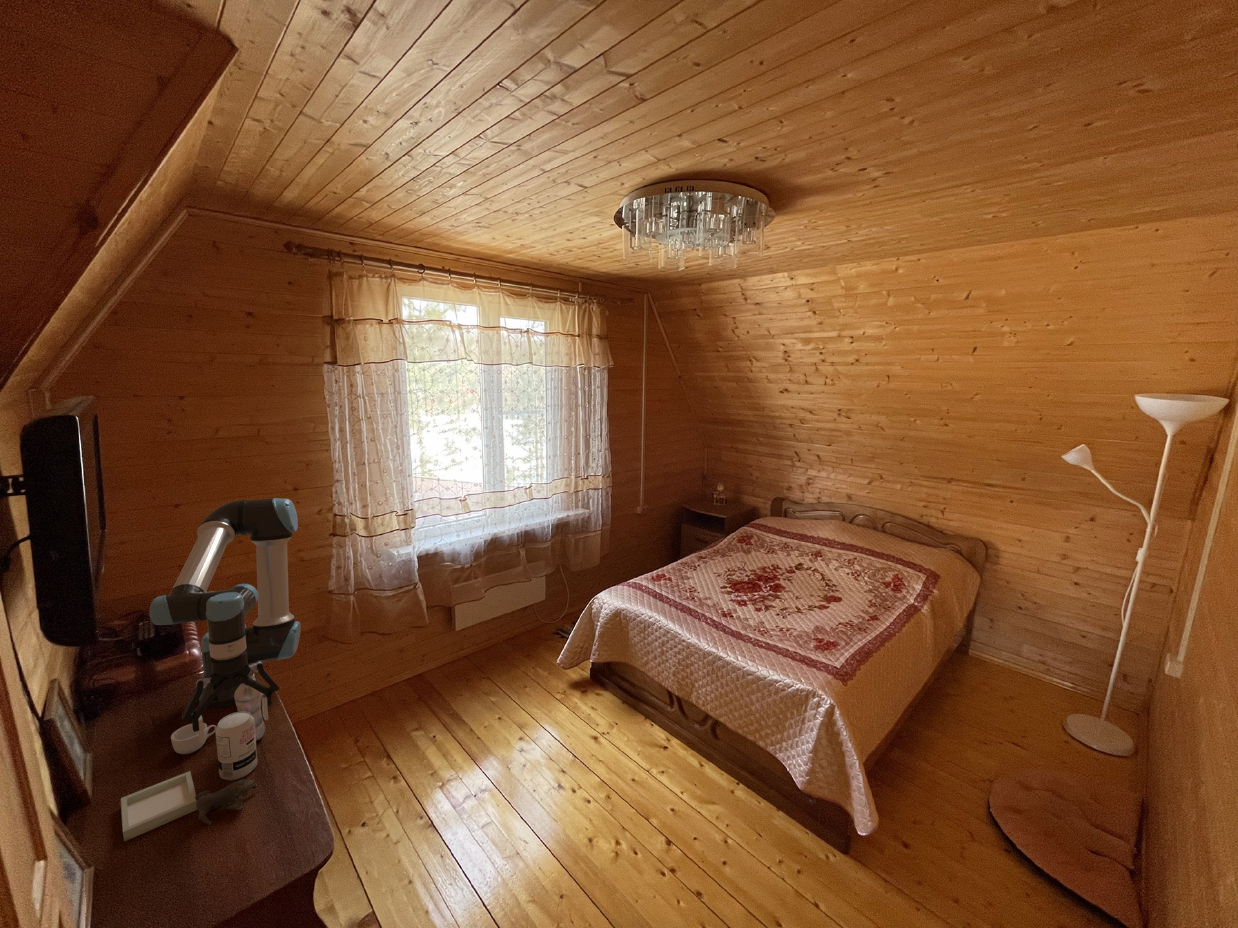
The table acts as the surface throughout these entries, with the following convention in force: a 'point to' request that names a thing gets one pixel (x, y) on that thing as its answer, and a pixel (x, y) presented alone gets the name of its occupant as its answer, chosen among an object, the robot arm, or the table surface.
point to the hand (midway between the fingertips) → (234, 728)
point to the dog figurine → (223, 798)
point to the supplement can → (236, 745)
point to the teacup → (189, 738)
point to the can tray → (157, 805)
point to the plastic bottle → (250, 705)
